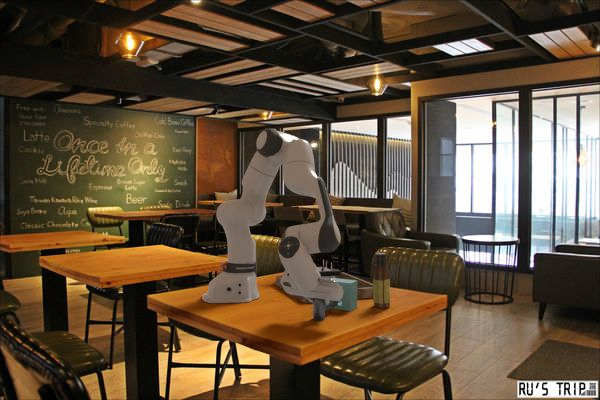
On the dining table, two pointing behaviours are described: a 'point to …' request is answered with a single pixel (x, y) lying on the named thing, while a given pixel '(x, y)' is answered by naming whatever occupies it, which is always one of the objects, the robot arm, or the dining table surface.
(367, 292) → the tray frame
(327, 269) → the black-topped pedestal
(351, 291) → the eye block
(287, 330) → the dining table surface
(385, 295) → the sauce bottle
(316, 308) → the dark piece
